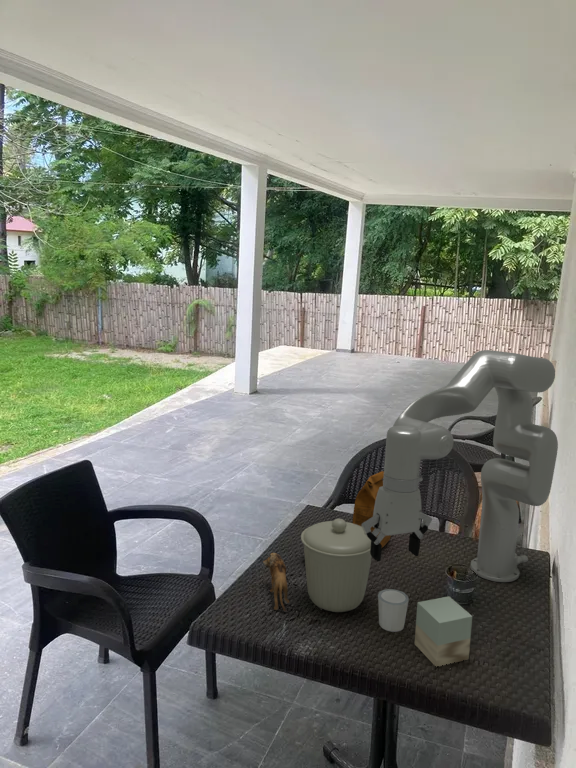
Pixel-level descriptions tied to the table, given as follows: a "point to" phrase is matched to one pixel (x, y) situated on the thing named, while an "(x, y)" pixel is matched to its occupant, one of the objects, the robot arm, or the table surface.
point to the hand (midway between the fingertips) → (394, 556)
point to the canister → (336, 564)
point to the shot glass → (392, 609)
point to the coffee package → (368, 502)
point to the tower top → (444, 620)
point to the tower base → (441, 649)
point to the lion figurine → (277, 578)
